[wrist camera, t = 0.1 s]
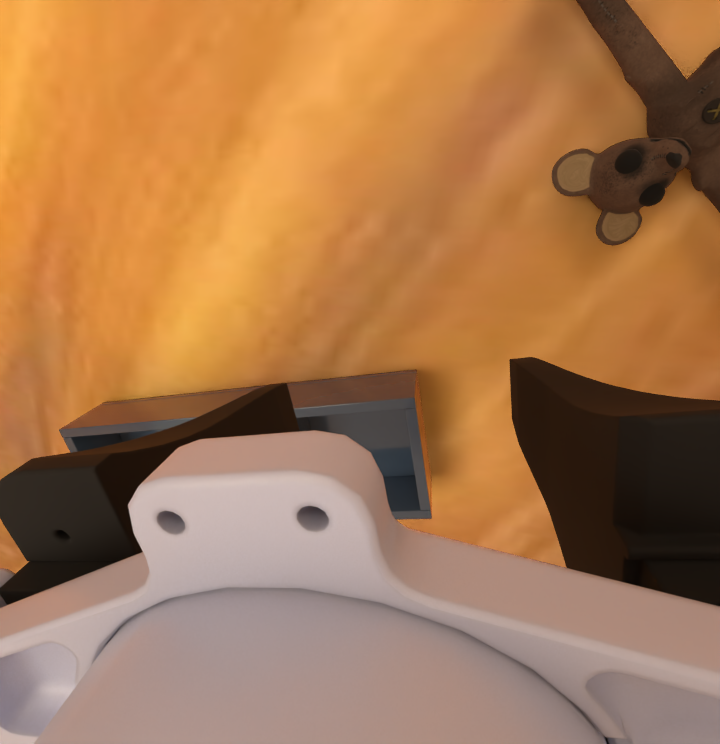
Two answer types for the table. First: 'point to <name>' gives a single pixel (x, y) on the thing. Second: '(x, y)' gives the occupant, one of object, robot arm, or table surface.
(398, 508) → the divided storage box
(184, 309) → the table surface
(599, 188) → the bear figurine
